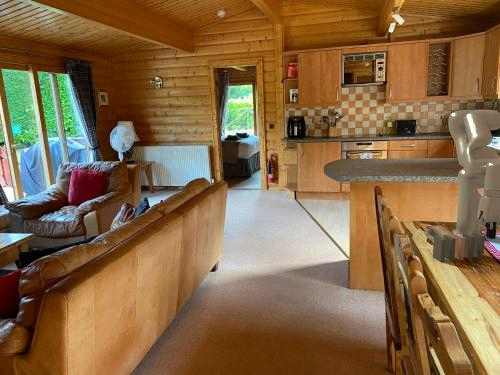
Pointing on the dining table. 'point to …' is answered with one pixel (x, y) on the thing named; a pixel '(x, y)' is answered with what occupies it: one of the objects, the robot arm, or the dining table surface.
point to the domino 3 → (459, 246)
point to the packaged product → (437, 232)
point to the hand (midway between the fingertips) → (490, 237)
